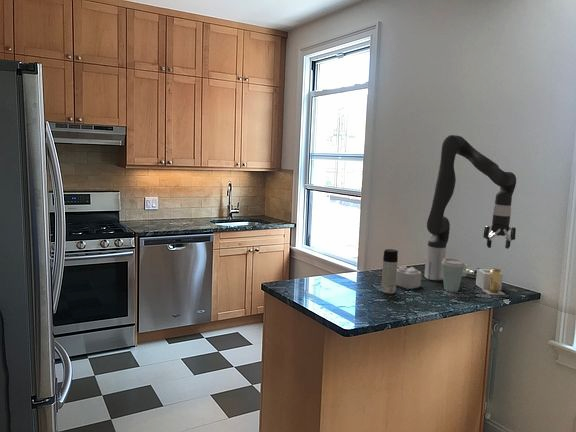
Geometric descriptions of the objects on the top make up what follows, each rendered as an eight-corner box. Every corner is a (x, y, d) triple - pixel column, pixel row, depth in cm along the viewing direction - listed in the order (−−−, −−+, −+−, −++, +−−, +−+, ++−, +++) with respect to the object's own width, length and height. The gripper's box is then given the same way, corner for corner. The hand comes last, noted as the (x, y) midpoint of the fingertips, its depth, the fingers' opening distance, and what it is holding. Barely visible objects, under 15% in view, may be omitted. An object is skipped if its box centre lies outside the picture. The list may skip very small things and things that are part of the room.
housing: (483, 289, 235) (484, 273, 234) (475, 284, 244) (477, 269, 243) (501, 290, 235) (502, 274, 234) (493, 285, 244) (494, 269, 243)
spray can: (396, 291, 227) (399, 249, 224) (393, 294, 221) (396, 252, 218) (383, 289, 230) (385, 248, 227) (379, 292, 224) (382, 250, 221)
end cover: (491, 292, 228) (493, 270, 226) (487, 290, 232) (489, 268, 231) (500, 293, 228) (502, 270, 227) (496, 290, 232) (498, 268, 231)
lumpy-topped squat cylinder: (409, 289, 231) (410, 271, 230) (389, 282, 241) (390, 266, 240) (423, 286, 237) (424, 269, 236) (402, 280, 248) (403, 264, 246)
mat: (488, 294, 227) (488, 293, 227) (482, 290, 234) (482, 289, 233) (505, 295, 227) (505, 294, 227) (498, 290, 234) (498, 290, 234)
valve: (455, 275, 261) (474, 281, 251) (456, 263, 261) (475, 268, 251) (463, 274, 265) (482, 279, 255) (464, 262, 264) (483, 267, 254)
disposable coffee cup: (466, 290, 232) (468, 260, 230) (456, 294, 224) (459, 263, 222) (445, 285, 239) (447, 256, 237) (435, 289, 231) (438, 259, 229)
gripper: (512, 213, 229) (509, 247, 231) (483, 212, 228) (479, 245, 231) (520, 216, 221) (516, 250, 224) (490, 214, 221) (486, 249, 223)
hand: (497, 248), depth 227 cm, fingers open, 8 cm apart
